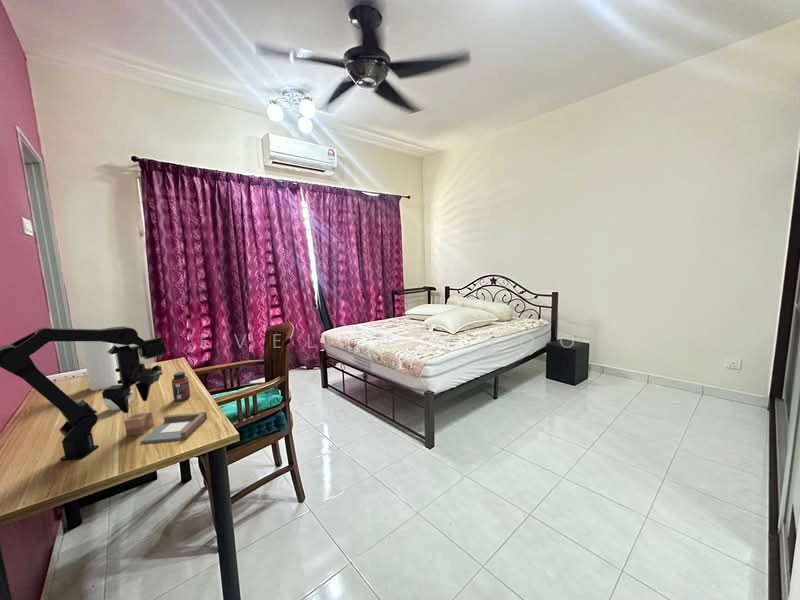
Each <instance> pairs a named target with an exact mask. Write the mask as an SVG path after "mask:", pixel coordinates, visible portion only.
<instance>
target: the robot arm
mask: <svg viewBox="0 0 800 600" xmlns="http://www.w3.org/2000/svg"><path fill="white" fill-rule="evenodd" d="M81 341H101V342H108V343H113V344H114V345H113V347H112V348H111V349H110V350H109V351H108V353H110V354H115V355H116V361H117V365H118V367H117V369H115V370H116V372H119V373H118V374H119V377H120V379H119V380H118V381H117V382H118V385H113V386H111V387H109V388H106V389H103V391H102V392H101V397H102V396H103V399H105V398H106V399H110V400H111V401H112V402H113V403H115V404H116V405H117V406H118V407H119V408H120V409H119V410H121V411H122V412H123V414H129V412H130V411H129V407H130V406H129V403H128V401H129V397H131V396H132V393H131V392H130V391H132V389H131V388H132V387H134V386H135V387H136V389H137V391H138V394H139V395H140V397H141V399H142V401H143V402H147V401H148V398H149V395H150V394H149V393H150V390H151V386H152V385H153V384H155V383H156V382H159V380H160V376H162V375H163V370H162V366H161V365H158V364H156V365H154V366H152V368H151V367H149V368H147V367H145V366H146V365H145V363H141V360H140V358H144V360H150V359H153V358H157V357H162V356H165V355H166V353H167V349H166V346H165V344H164V341H163V340H162V337H160V336H158V337H154V338H150V339H145V340H144V339H143V338H141V337H140V336H139V333H138V332H137V330H136V329H135V328H132V327H127V326H115V327H113V326H112V327H106V328H98V329H96V328H91V329H90V328H62V327H61V328H57V327H55V328H51V327H47V326H45V327H39V328H38V329H36V330H35V331H33V332H31V333H29V334H27V335H26V336H23V337H21V338H20V339H18V340H16V341H14V342H13V343H11V344H4V345H1V346H0V368H2V369H4V370H5V371H7V372H9V373H11V374H13V375H14V376H15V377H16V376H17V377H19V378H20V379H22V380H24V381H25V382H26V383H27V384H29V386H31V388H33V389H34V390H35V391H36V392H38V393H39V394H40V395H42V397H44V398H45V399H46V400H47V401H49V402H50V403H51V404H52V405H54V407H56V409H58V410H59V412H60V413H61V415H62V416H63V418H64V419H65V423H63V425H62V426H61V427H60V428H59V430H58V431H59V432H60V433H61V435H62V436H63V440H61V444H62V449H63V453H64V455H63V456H62V457H60V458H59V461H68V460H79V459H83V458H85V457H86V456H88V455H89V454H91V453H92V452H94V451H95V450H96V449H98V448H99V447H100V446H99V444H95V443H94V437H93V433H92V430H93V428H94V426H95V425H96V424H97V422H98V419H99V417H98V415H97V414H96V413H98V411H97V410H95V408H93V407H92V406H90V404H89V403H88V402H86V401H85V400H84V399H81V400H80V401H79V402H78V401H75V400H73V399H72V398H71V397H70V396H69V395H67V394H66V393H65V392H64V391H63V390H62V389H61V388H59V386H57V385H56V384H55V383H54V382H53V381H51V380H50V378H48V377H47V376H46V375H45V374H43V372H41V371H40V370H39V369H38V367H37V366H36V364H35V363H34V361H33V360H32V359H31V357H30V356H32V355H33V354H35V353H36V352H37V351H38V350H40V349H41V348H42V347H44V346H45V345H47V344H48V343H50V342H81ZM115 344H116V345H115ZM117 345H122V346H117ZM131 345H134V346H131ZM103 399H102V400H103Z"/></svg>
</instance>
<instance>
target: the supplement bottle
mask: <svg viewBox="0 0 800 600" xmlns="http://www.w3.org/2000/svg"><path fill="white" fill-rule="evenodd" d="M171 386H172V387H171V389H172V395H173V400H174V401H176V402H182V401H185V400H186V401H187V400H188V399H189V398H190V397H191V389H190V383H189V378H188V376H186V374H185V372H184V371H179V372H175V373H173V378H172V380H171Z"/></svg>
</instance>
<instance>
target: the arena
mask: <svg viewBox="0 0 800 600" xmlns="http://www.w3.org/2000/svg"><path fill="white" fill-rule="evenodd" d="M163 419H164V421H163V422H162V423H161V424H160V425H159V426H157V428H155V429H154V430H153V431H151V432H150V433H149V434H148V435H146V436H145V437H143V438H142V439H141V440H140V444H147V443H157V442H160V443H161V442H171V441H183V440H184V441H185V440H187V439H188V438H189V437H190V436H191V435H192V434H193V433H194V432H195V431H196V430H197V429H199V427H200V426H201V425H202V424H203V423H204V422H206V420H207V419H208V414H207V411H201V412H194V413H193V412H192V413H191V412H190V413H180V414H178V413H177V414H167V415H165V416H164V417H163Z"/></svg>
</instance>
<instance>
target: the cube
mask: <svg viewBox="0 0 800 600" xmlns="http://www.w3.org/2000/svg"><path fill="white" fill-rule="evenodd" d="M123 422H124V428H125V429H124V430H125V435H126V436H135V435H136V436H137V435H145V433H147V432H148V431H149V430H151V429H152V428H153V427H155V423H154V417H153V412H152V411H143V412H135V413H134V414H132V415H130V416H129V417H127V418H125V420H124V421H123Z"/></svg>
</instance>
